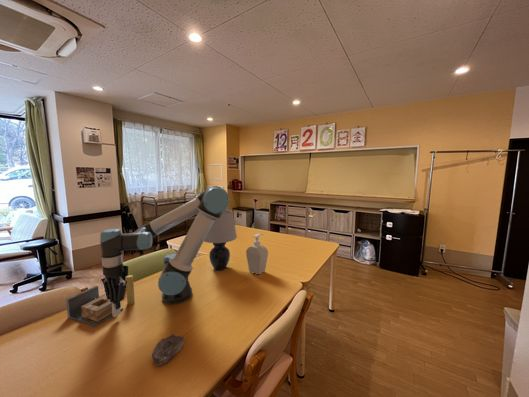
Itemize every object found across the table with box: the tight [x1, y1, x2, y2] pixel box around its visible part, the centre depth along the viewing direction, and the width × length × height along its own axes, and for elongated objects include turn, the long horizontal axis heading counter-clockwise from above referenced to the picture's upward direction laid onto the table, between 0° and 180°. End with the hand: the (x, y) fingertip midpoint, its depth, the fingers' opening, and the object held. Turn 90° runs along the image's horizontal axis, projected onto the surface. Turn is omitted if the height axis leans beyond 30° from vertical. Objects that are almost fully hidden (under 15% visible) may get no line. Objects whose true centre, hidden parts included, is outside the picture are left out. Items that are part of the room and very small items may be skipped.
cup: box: [122, 265, 129, 281], centre depth 126 cm, size 8×8×12 cm
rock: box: [151, 333, 185, 367], centre depth 81 cm, size 8×11×5 cm
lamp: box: [203, 209, 238, 272], centre depth 152 cm, size 24×24×40 cm
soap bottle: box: [245, 233, 269, 275], centre depth 148 cm, size 12×10×26 cm
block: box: [81, 294, 112, 322], centre depth 102 cm, size 10×10×5 cm
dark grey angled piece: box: [65, 285, 124, 328], centre depth 103 cm, size 18×13×9 cm
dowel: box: [125, 274, 136, 305], centre depth 112 cm, size 3×3×14 cm
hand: (116, 314), depth 99 cm, fingers closed
